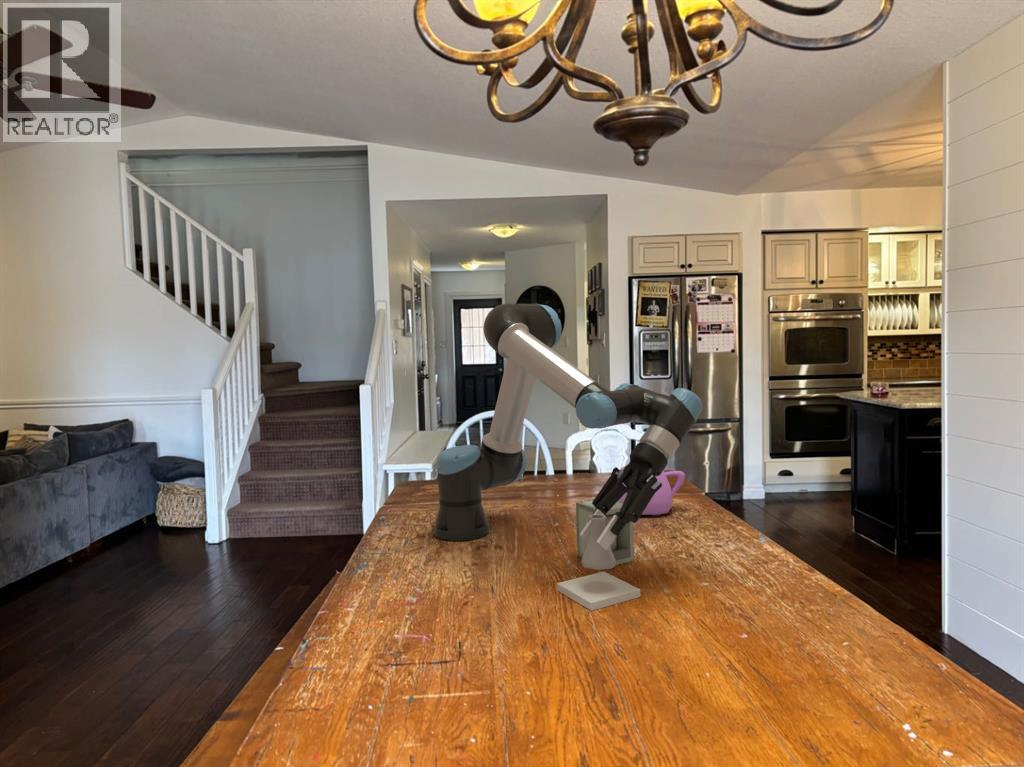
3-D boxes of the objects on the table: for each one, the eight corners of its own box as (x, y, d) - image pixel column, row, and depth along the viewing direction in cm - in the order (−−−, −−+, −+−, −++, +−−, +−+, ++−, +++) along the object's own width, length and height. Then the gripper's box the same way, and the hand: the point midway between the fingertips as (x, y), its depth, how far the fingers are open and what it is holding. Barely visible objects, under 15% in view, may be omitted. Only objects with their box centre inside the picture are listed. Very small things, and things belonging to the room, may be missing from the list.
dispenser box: (577, 556, 152) (575, 502, 151) (607, 549, 156) (606, 497, 155) (602, 568, 143) (601, 511, 142) (634, 560, 147) (632, 505, 146)
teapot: (688, 519, 179) (687, 467, 178) (612, 518, 183) (611, 466, 182) (681, 499, 201) (681, 452, 200) (614, 498, 205) (613, 452, 204)
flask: (616, 571, 124) (614, 521, 123) (579, 570, 125) (577, 520, 125) (617, 559, 131) (616, 511, 130) (582, 558, 132) (580, 511, 132)
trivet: (557, 590, 131) (557, 583, 131) (603, 578, 137) (603, 571, 137) (591, 610, 121) (591, 603, 120) (640, 596, 126) (640, 589, 126)
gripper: (694, 469, 128) (632, 565, 121) (635, 457, 143) (578, 541, 137) (673, 446, 125) (609, 543, 118) (616, 436, 141) (557, 521, 134)
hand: (593, 542), depth 127 cm, fingers closed on flask, 5 cm apart
